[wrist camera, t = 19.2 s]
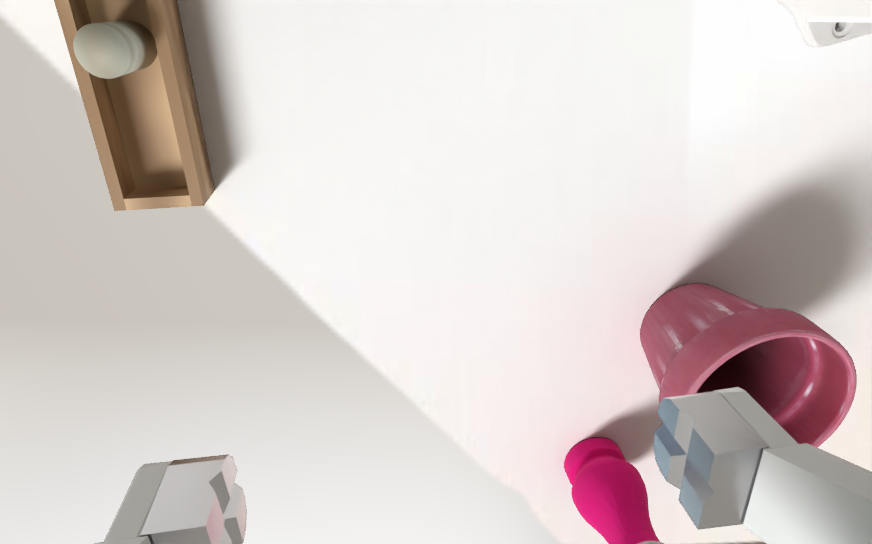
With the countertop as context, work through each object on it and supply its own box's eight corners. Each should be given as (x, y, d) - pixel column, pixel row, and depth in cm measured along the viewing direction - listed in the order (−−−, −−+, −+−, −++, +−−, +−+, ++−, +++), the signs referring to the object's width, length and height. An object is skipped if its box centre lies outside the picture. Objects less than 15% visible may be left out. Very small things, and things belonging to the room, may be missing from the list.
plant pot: (582, 341, 54) (643, 433, 42) (691, 228, 50) (790, 297, 38) (676, 405, 59) (754, 503, 47) (781, 307, 55) (893, 388, 43)
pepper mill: (574, 428, 58) (670, 617, 40) (635, 438, 60) (752, 624, 42) (549, 479, 61) (628, 677, 43) (607, 487, 63) (706, 681, 45)
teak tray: (158, -88, 35) (121, -104, 29) (214, 190, 43) (193, 218, 37) (56, -87, 34) (-1, -103, 29) (132, 195, 42) (98, 224, 37)
